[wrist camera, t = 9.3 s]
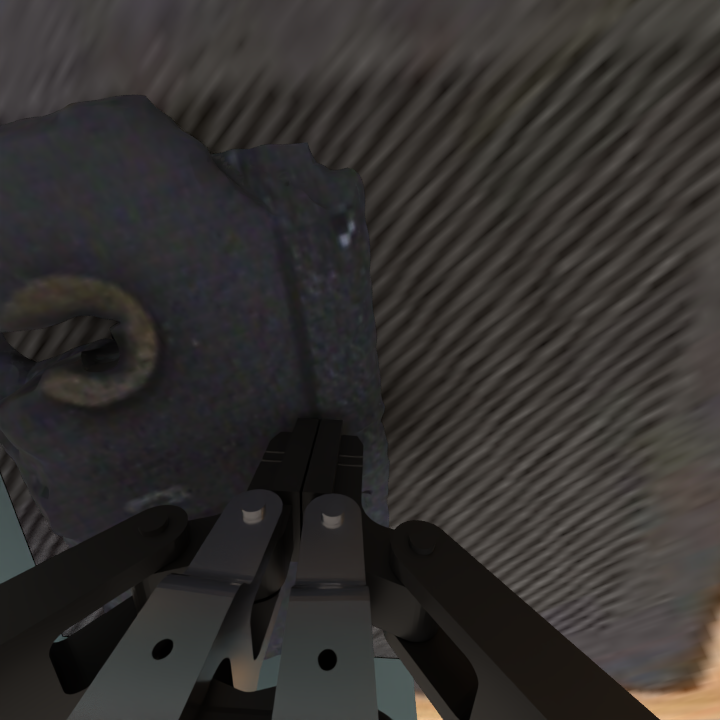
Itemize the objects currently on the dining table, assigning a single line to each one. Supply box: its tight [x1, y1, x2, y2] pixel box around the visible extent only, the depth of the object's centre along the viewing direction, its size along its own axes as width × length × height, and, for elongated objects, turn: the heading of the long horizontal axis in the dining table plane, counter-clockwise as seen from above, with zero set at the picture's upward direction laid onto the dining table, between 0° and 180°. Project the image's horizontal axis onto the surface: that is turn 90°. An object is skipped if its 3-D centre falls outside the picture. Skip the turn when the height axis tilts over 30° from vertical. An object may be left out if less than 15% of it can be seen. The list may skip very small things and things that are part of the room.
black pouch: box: [0, 95, 390, 660], centre depth 13 cm, size 15×22×5 cm
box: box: [0, 475, 417, 720], centre depth 12 cm, size 31×20×4 cm, turn 177°
